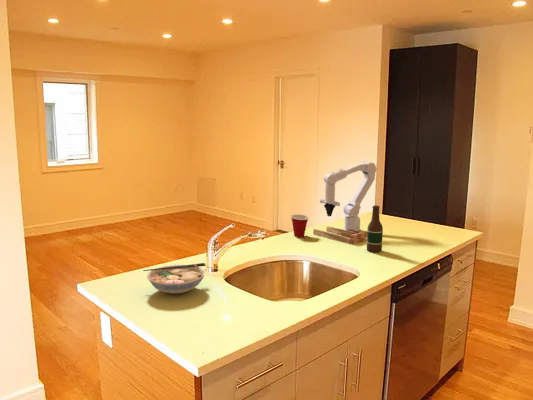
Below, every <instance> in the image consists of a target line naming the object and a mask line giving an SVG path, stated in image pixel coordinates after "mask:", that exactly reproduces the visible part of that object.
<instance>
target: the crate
mask: <svg viewBox="0 0 533 400" xmlns="http://www.w3.org/2000/svg"><path fill="white" fill-rule="evenodd" d="M357 233H360V231H355V230H351V229H347V230H342V231H341V236H345V237H349V238H350V235H353V234H357Z"/></svg>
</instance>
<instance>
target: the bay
mask: <svg viewBox="0 0 533 400" xmlns="http://www.w3.org/2000/svg"><path fill="white" fill-rule="evenodd" d="M342 229H343V228H342ZM342 229H341V228H337V227H333V226H326V231H325V230H320V229H317V228H314V229H313V230H312V232H313V233H312V234H313V235H315V236H319V237H323V238H326V239H330V240H332V241H338V242H341V243H345V244H349V245H355V244H359V243H363V242H367V231H362V232H359V233H357V234H353V235H350V238H349V237H345V236H341V231H342Z"/></svg>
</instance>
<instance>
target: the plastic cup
mask: <svg viewBox="0 0 533 400" xmlns="http://www.w3.org/2000/svg"><path fill="white" fill-rule="evenodd" d="M290 218H291V223H292V229H293V235H294V237H295V238H296V237H297V238H303V237H305V233H306V230H307V229H306V228H307V223H308V221H309V219H310V217H309V216H308V215H305V214H292V215H290Z"/></svg>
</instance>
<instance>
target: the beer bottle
mask: <svg viewBox="0 0 533 400" xmlns="http://www.w3.org/2000/svg"><path fill="white" fill-rule="evenodd" d="M380 207H381V206H380V205H373V206H372V214H371V221H370V222H369V223H368V226H367V229H366V232H367V241H366V251H367V252H369V253H372V252H373V253H374V254H377V253H378V252H379V253H381V252H382V249H383V234H384V233H383V230H384V228H383V224H382V223H381V220H380V209H381V208H380ZM379 253H378V254H379Z"/></svg>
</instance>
